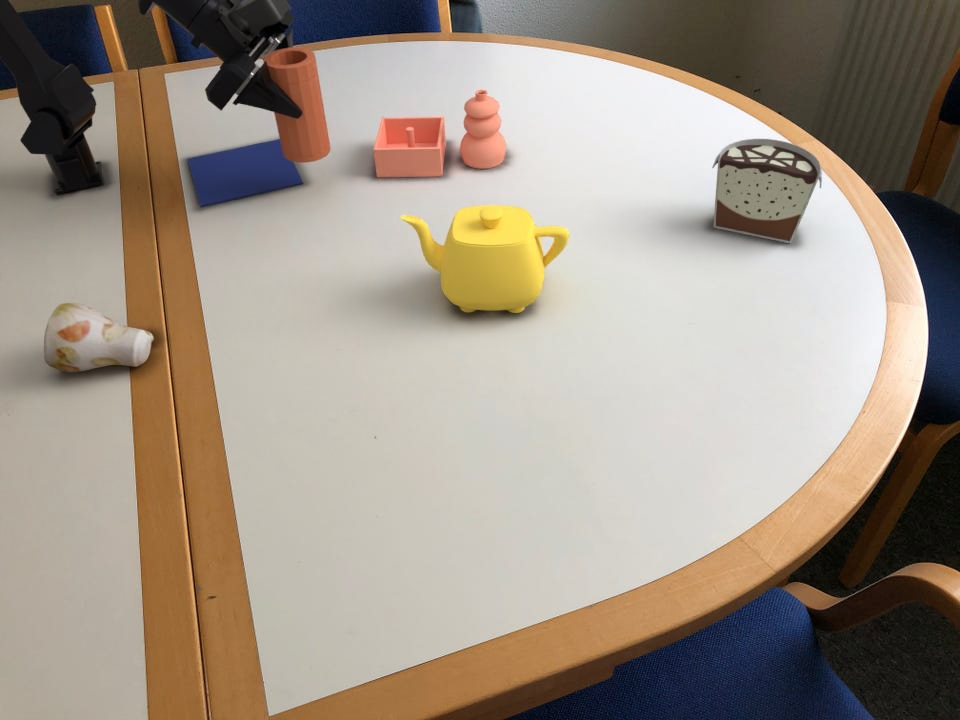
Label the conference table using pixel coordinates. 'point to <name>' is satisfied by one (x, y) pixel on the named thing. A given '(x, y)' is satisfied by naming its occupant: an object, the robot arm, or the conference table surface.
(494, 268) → the teapot
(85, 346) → the fruit patterned vase
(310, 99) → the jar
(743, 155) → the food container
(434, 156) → the pottery
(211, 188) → the napkin
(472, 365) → the conference table surface
